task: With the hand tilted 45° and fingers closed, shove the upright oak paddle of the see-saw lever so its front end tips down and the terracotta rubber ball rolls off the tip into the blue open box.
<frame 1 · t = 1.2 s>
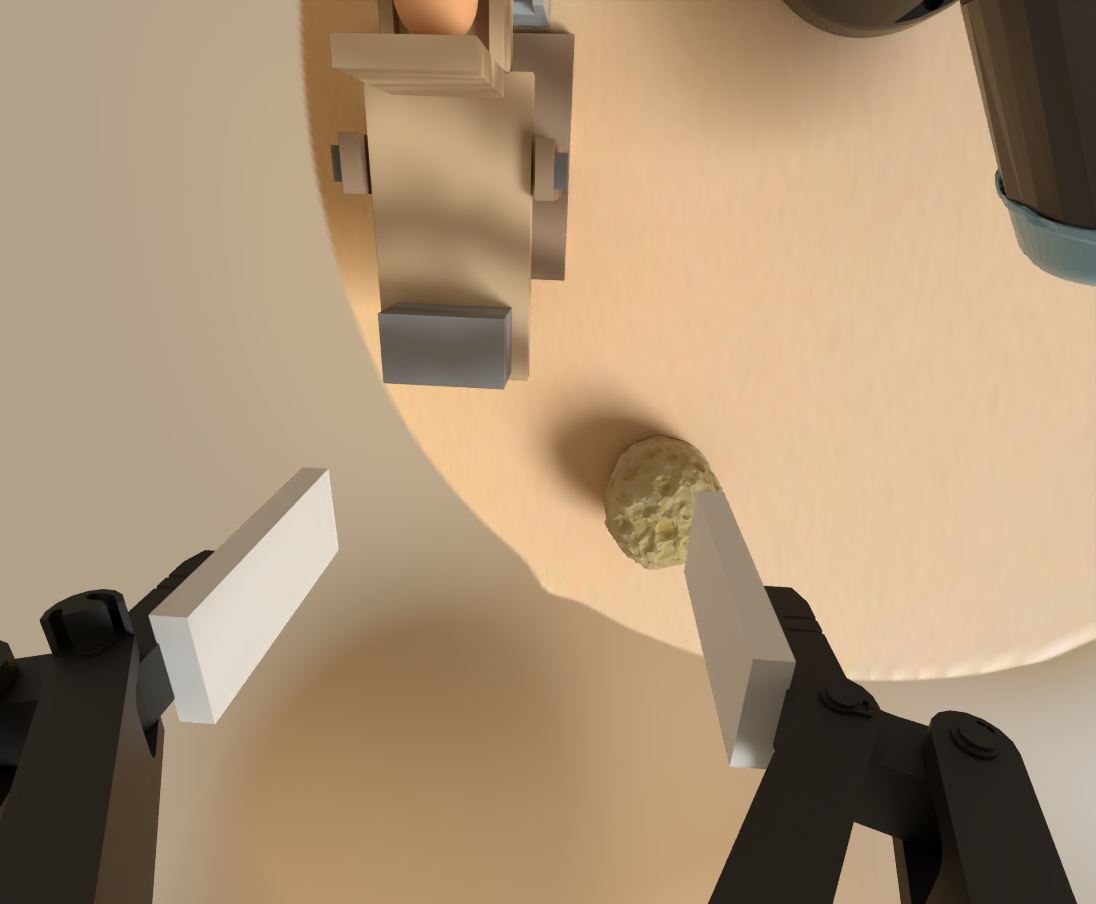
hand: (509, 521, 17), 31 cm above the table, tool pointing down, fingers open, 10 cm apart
lever: (435, 187, 31), point 13 cm above the table, hinge at 0.0°, touching ball
catapult stand: (479, 171, 42), on the table
decorative item: (658, 483, 51), on the table
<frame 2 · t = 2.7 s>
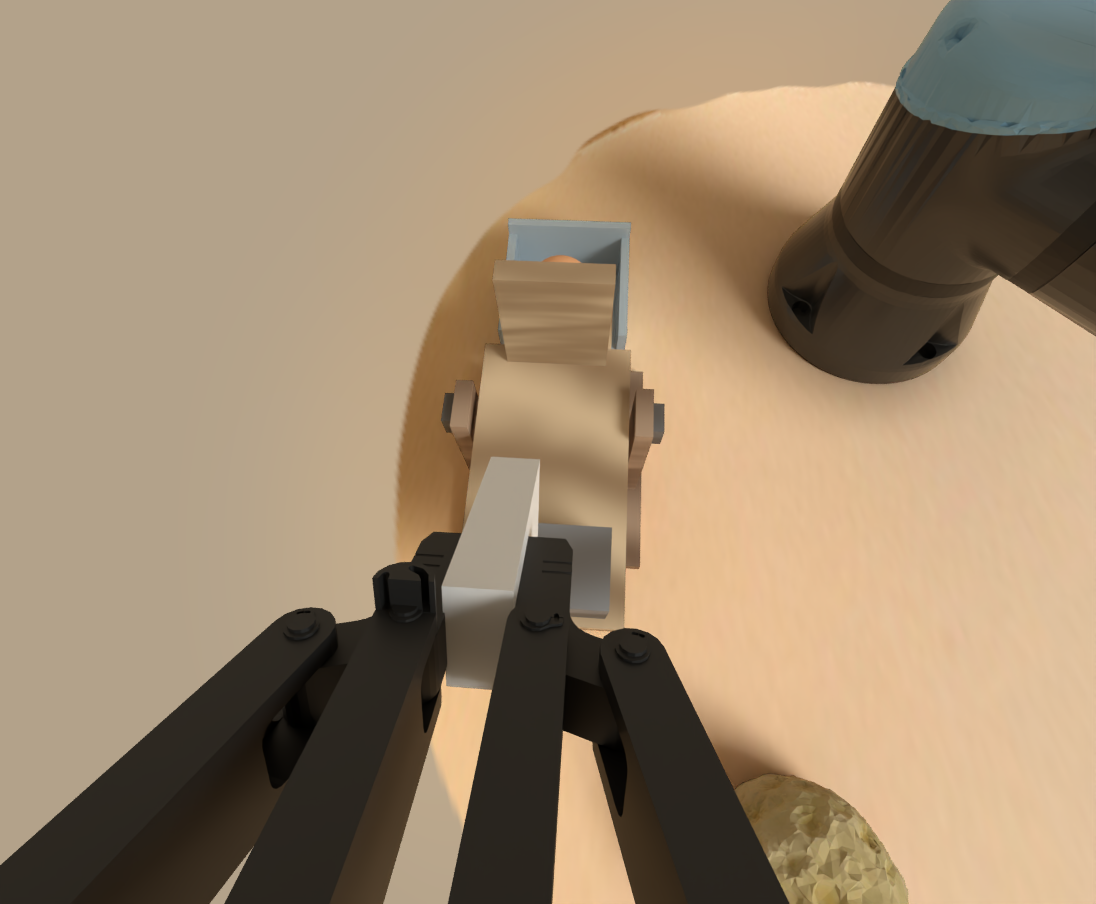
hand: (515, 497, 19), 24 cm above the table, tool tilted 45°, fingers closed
blue open box: (566, 317, 49), on the table
lever: (549, 404, 32), point 13 cm above the table, hinge at 0.0°, touching ball
catapult stand: (555, 468, 45), on the table
decorative item: (780, 858, 36), on the table
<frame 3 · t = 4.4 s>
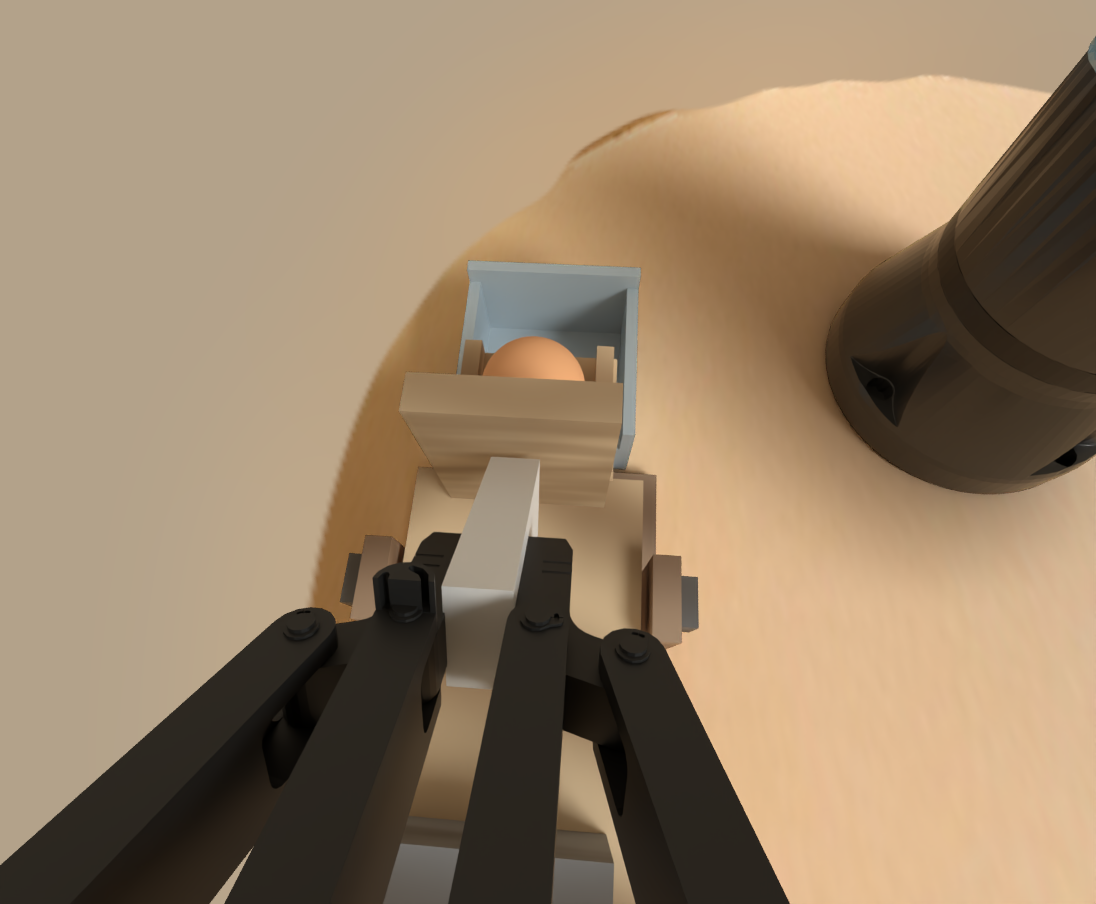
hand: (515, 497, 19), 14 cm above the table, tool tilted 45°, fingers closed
ball: (533, 389, 23), point 12 cm above the table, touching lever
blue open box: (550, 392, 36), on the table
lever: (508, 606, 19), point 13 cm above the table, hinge at 0.0°, touching ball, gripper
catapult stand: (532, 618, 31), on the table
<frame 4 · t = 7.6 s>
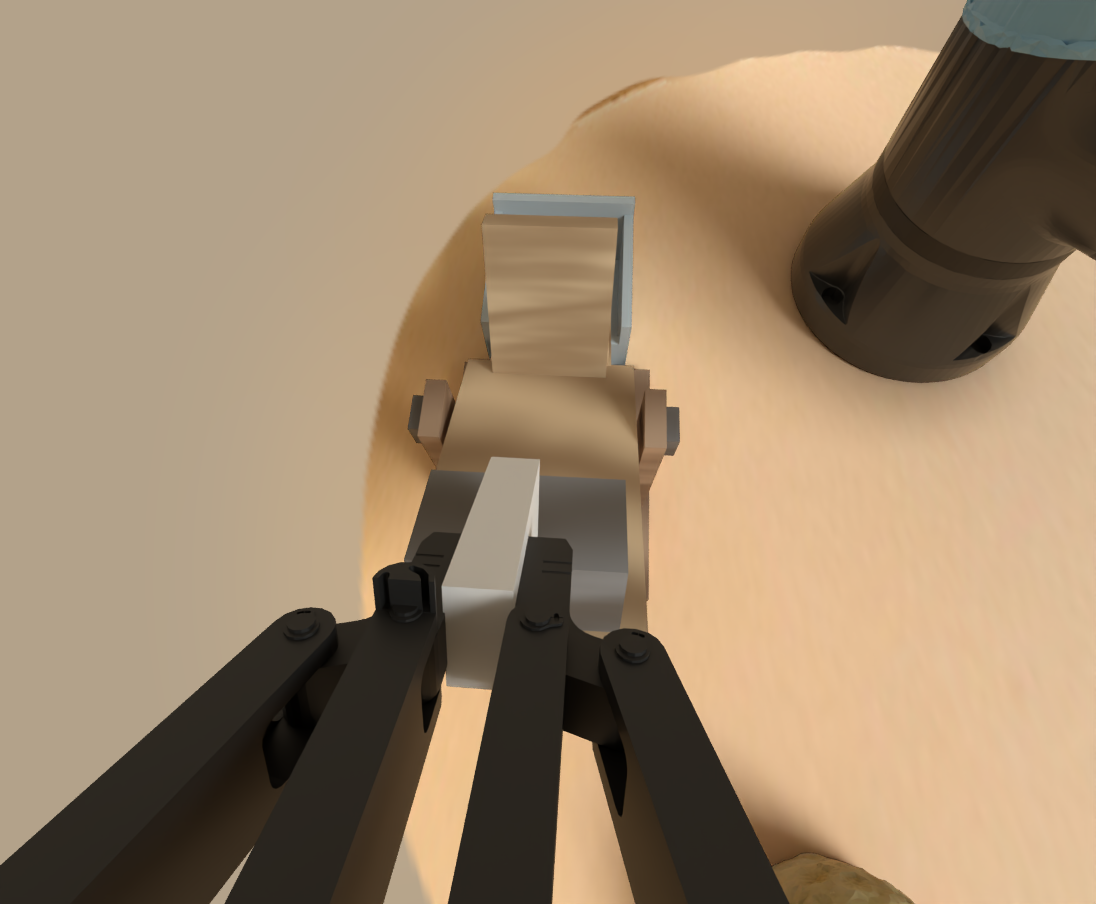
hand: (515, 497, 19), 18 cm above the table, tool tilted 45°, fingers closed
blue open box: (560, 308, 43), on the table
lever: (541, 371, 26), point 13 cm above the table, hinge at 25.6°, touching gripper
catapult stand: (549, 482, 38), on the table
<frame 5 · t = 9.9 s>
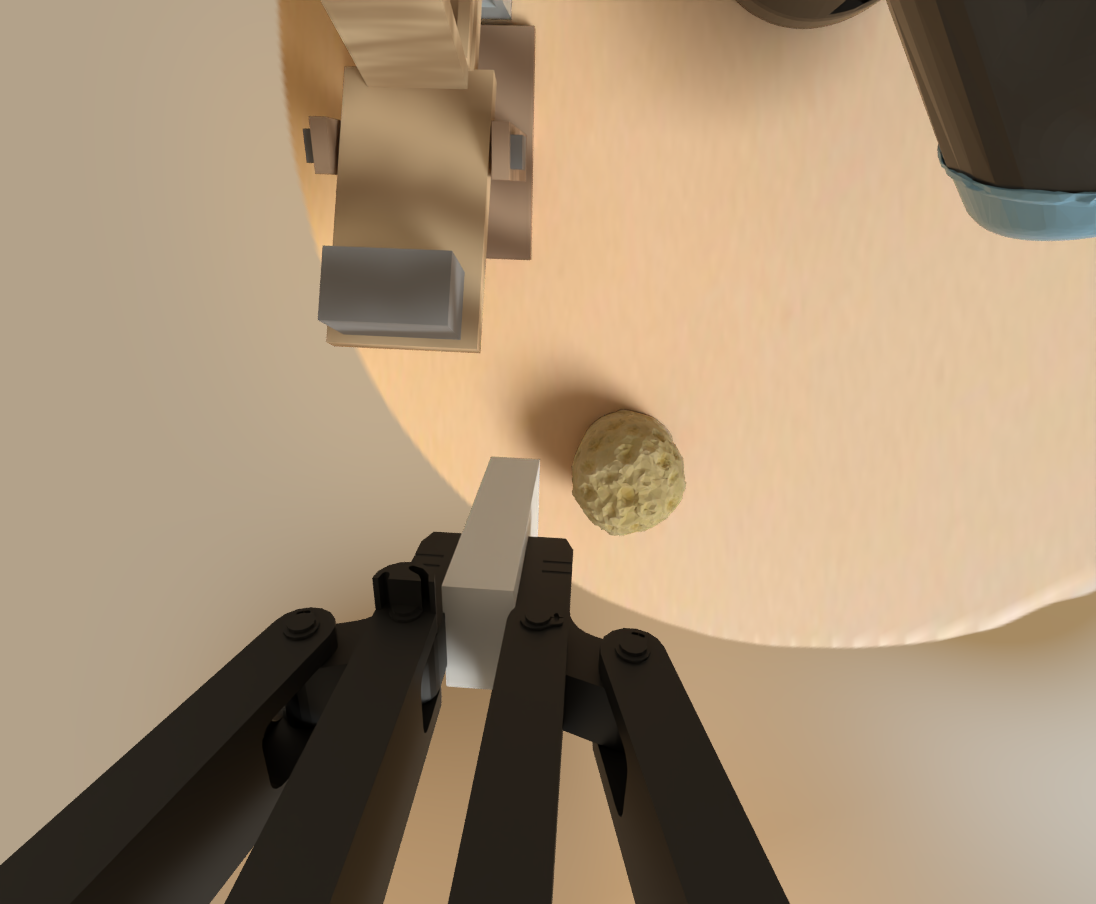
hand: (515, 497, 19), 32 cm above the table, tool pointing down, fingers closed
lever: (395, 128, 32), point 13 cm above the table, hinge at 25.2°
catapult stand: (449, 156, 44), on the table
decorative item: (625, 456, 53), on the table
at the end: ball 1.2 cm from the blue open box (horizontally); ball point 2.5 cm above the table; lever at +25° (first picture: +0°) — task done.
